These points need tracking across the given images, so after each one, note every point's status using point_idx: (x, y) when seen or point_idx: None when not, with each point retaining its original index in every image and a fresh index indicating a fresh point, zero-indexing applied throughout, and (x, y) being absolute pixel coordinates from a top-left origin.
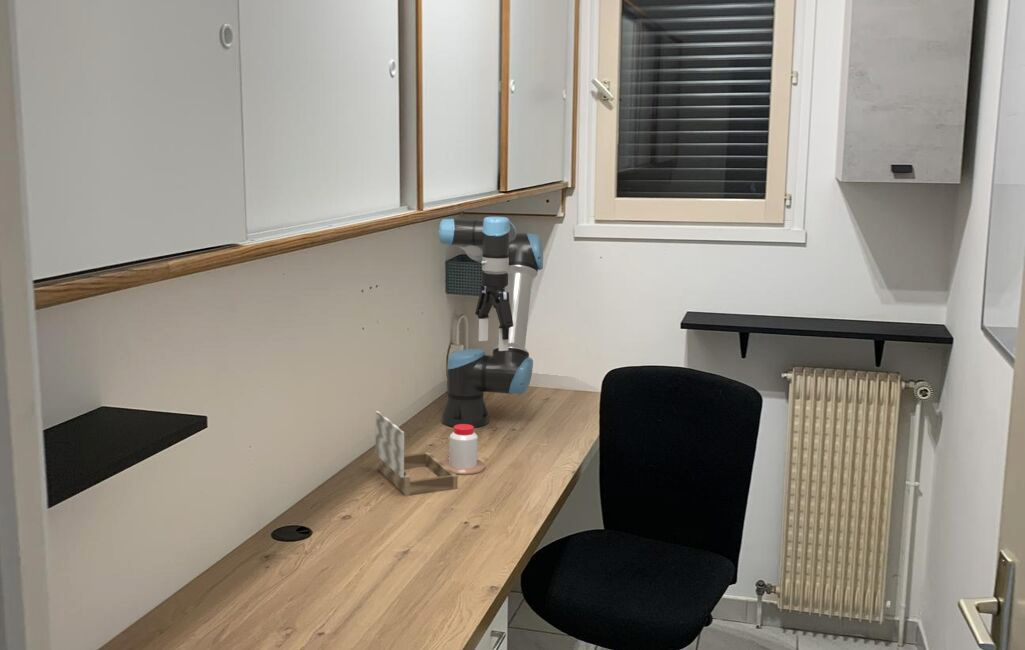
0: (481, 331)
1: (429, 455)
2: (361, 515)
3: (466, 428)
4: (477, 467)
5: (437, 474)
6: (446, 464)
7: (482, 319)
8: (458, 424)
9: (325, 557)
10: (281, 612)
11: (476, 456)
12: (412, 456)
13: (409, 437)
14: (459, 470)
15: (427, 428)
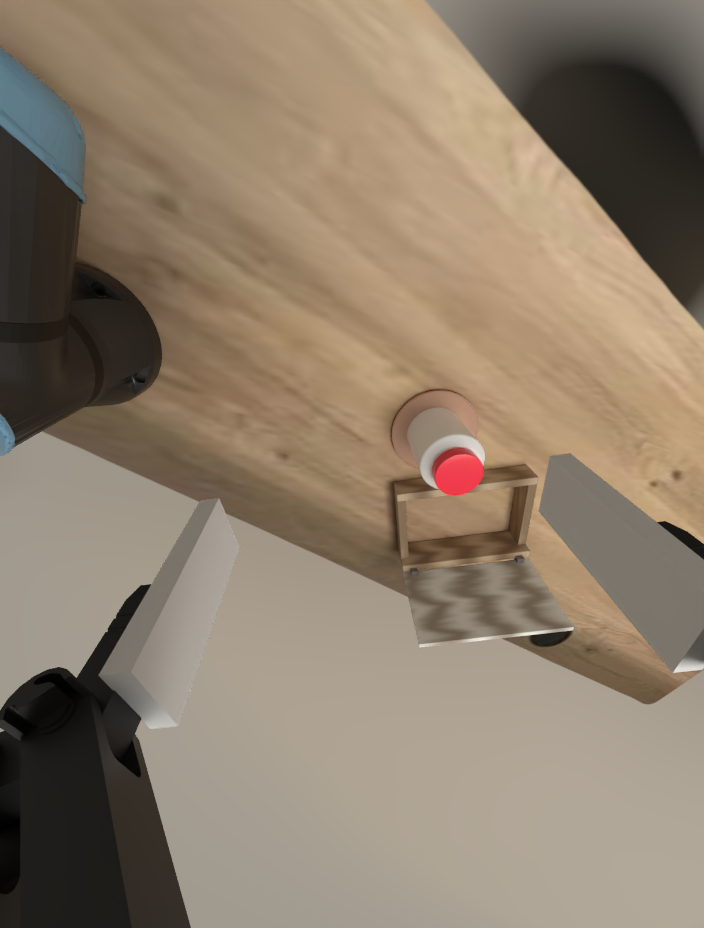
0: (213, 595)
1: (415, 497)
2: (546, 583)
3: (474, 473)
4: (459, 411)
5: None
6: None
7: (167, 708)
8: (436, 482)
9: (626, 617)
10: None
11: (460, 420)
12: (406, 520)
13: (229, 483)
14: None
15: (164, 439)
